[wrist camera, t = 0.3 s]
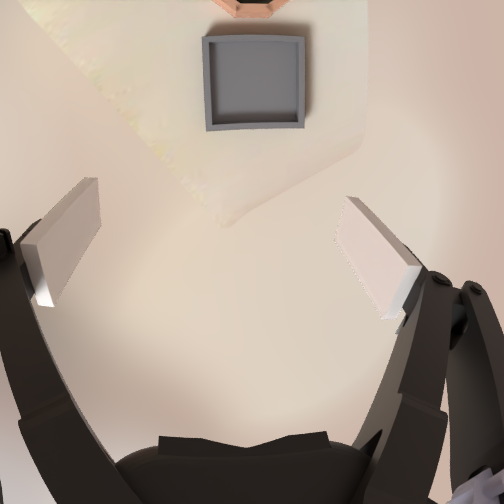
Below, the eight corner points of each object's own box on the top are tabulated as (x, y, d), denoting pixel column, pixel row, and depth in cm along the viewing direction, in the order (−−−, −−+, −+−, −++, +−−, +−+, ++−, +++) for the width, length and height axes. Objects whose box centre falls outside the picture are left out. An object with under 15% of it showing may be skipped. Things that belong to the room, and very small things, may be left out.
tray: (203, 39, 32) (202, 36, 30) (299, 39, 33) (304, 36, 31) (206, 128, 38) (206, 131, 36) (299, 125, 39) (304, 128, 37)
